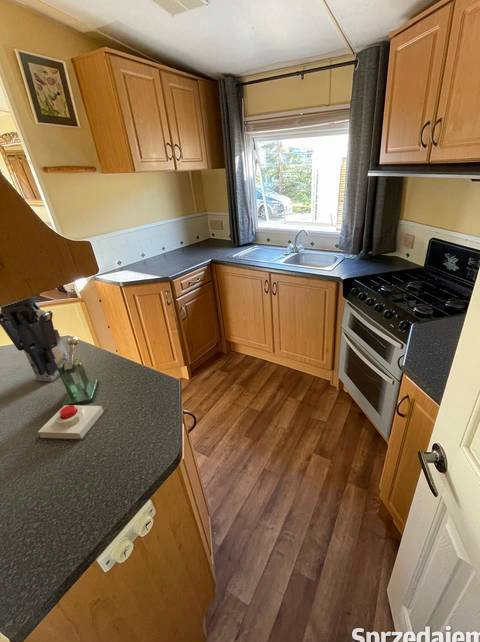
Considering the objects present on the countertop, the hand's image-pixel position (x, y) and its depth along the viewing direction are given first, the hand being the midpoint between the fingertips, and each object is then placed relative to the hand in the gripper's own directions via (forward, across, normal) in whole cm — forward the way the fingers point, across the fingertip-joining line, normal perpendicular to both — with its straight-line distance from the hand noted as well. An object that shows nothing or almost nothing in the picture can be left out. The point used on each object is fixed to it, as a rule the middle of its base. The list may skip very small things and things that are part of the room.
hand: (49, 371), depth 75 cm
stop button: (+15, 0, 0) cm, 15 cm away
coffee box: (+19, +24, -23) cm, 38 cm away
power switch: (+18, +6, -12) cm, 23 cm away
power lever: (+7, +8, -17) cm, 20 cm away
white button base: (+18, 0, 0) cm, 18 cm away
